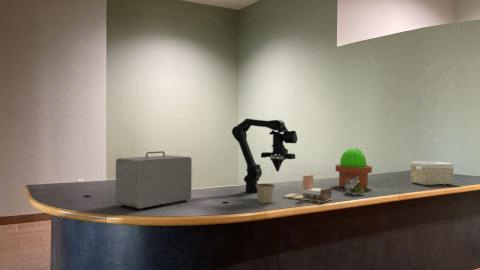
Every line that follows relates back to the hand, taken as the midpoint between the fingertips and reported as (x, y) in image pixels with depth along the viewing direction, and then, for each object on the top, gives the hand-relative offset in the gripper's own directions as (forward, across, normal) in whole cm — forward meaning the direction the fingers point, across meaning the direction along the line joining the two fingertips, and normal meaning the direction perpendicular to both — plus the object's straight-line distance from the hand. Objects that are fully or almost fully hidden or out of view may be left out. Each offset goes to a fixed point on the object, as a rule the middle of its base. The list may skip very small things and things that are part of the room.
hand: (277, 171), depth 205 cm
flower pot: (+13, -5, +22) cm, 26 cm away
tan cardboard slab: (+13, -18, +1) cm, 22 cm away
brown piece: (+12, -22, +1) cm, 25 cm away
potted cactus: (+13, -25, -55) cm, 62 cm away
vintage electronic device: (+13, +36, +57) cm, 69 cm away
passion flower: (+13, -34, -29) cm, 47 cm away
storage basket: (+14, -64, -105) cm, 123 cm away
